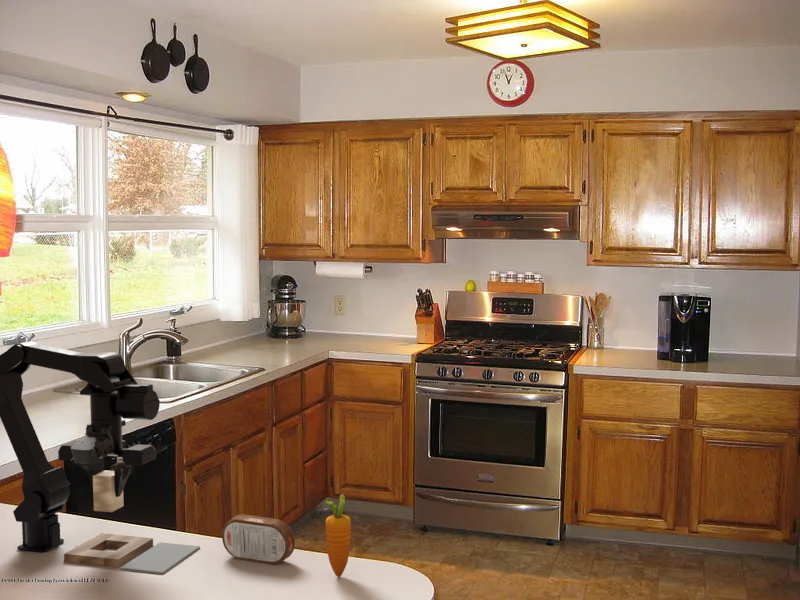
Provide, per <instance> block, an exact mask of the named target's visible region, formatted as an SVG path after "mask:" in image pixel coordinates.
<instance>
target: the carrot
mask: <svg viewBox="0 0 800 600" xmlns="http://www.w3.org/2000/svg"><path fill="white" fill-rule="evenodd" d="M345 496H346V495H344V494H340V495H339V505H338V506H337V505H336V504H334V502H333V501H329V500H326V501H325V504H326V505H328V507H329V508H330V510H331V511H332V513H333V514H332V515H329V516H328V517H326V518H325V539H326V540H325V544H326V552H327V556H328V561H329V563H330V567H331V569H332V570H333V573H334V575H335V576H336V577H337V578H340V577H341V576H342V575H343V574H344V571H345V569H346V567H347V565H348V562H349V561H348V560H349V557H350V550H351V539H352V521H351V517H350V516H348V515H345V514H343V512H344V508H345V507H344V506H345V504H346V501H345V499H346V497H345Z"/></svg>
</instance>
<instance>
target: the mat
mask: <svg viewBox="0 0 800 600" xmlns="http://www.w3.org/2000/svg"><path fill="white" fill-rule="evenodd" d="M199 549H201V546H199V545H189V544H180V543H172V542H158V543H157V544H156V545H153V546H152V547H150V548H148V549H147V550H145V551H144V552H142V553H140V554H139V555H137V556H136V557H134V558H132V559H131V560H129V561H128V562H126V563H124V564H123V565H121V566H120V567H119V570H121V571H130V572H138V573H139V572H140V573H148V574H156V575H164V574H165V573H167V572H168V571H170V570H171V569H172V568H174V567H175V566H177V565H178V564H179V563H182V561H184V560H186V559H187V558H188V557H189V556H191V555H192V554H194V553H195V552H197V551H198V550H199Z"/></svg>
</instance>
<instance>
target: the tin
mask: <svg viewBox="0 0 800 600" xmlns="http://www.w3.org/2000/svg"><path fill="white" fill-rule="evenodd" d="M295 539H296V538H295V535H294V533H293V531H292V529H291V528H290V526H289V525H287V523H286V522H284V521H282V520H280V519H276V518H270V517H265V516H263V517H262V516H258V515H257V516H256V515H249V514H243V513H242V514H237V515H234V516H233V517H232V518H231V519H230V520H228V521H227V522H226V523H225V524H224V526H223V527H222V532H221V540H222V544H223V547H224V549H225V550H226V552H227V553H228V554H229V555H230V556H232V557H233V558H235V559H238V560H242V561H243V560H244V561H248V560H249V562H250V561H251V562H256V563H262V564H268V565H278V564H281V563H283V562H284V561H286V560H287V559H288V558H290V557H291V556H292V554H293V553H294V551H295V547H296V540H295Z"/></svg>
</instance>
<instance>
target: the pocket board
mask: <svg viewBox="0 0 800 600" xmlns="http://www.w3.org/2000/svg"><path fill="white" fill-rule="evenodd" d="M153 546H154V537H145V536H144V537H143V536H133V535H123V534H112V533H103V532H102V533H100V534H97V535H95V536H94V537H92V538H90V539H88V540H86V541H85V542H82V543H81V544H78V545H77V546H75V547H74V548H72V549H69V550H67V551H66V552H65V553H64V554H63V562H69V563H77V564H86V565H95V566H105V567H115V568H120V567H122V566H123V565H125V564H127V563H128V562H130V561H131V560H133V559H134V558H136V557H138V556H139V555H141V554H142V553H144V552H146V551H147V550H149V549H150V548H152V547H153ZM105 548H111V549H116V550H114V551H108V550H103V549H105Z"/></svg>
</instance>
